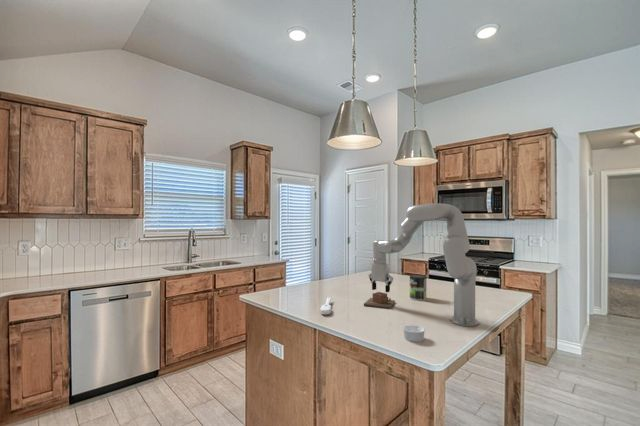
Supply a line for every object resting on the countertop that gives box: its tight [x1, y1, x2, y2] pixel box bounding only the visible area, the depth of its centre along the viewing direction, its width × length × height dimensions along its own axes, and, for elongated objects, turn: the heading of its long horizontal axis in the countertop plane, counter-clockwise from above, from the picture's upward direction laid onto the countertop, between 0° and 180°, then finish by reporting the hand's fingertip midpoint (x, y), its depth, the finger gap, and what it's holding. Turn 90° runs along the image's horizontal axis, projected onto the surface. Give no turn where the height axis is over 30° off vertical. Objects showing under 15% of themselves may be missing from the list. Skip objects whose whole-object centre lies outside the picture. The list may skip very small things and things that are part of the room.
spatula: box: [319, 296, 333, 316], centre depth 179 cm, size 28×6×3 cm, turn 173°
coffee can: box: [409, 273, 427, 301], centre depth 201 cm, size 10×10×14 cm
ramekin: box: [402, 324, 426, 343], centre depth 135 cm, size 9×9×4 cm
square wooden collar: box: [372, 291, 389, 304], centre depth 189 cm, size 10×6×5 cm, turn 132°
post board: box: [363, 291, 396, 310], centre depth 187 cm, size 15×15×7 cm
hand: (380, 290), depth 187 cm, fingers open, 9 cm apart
